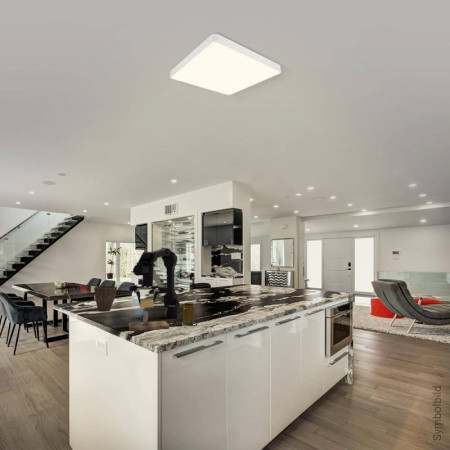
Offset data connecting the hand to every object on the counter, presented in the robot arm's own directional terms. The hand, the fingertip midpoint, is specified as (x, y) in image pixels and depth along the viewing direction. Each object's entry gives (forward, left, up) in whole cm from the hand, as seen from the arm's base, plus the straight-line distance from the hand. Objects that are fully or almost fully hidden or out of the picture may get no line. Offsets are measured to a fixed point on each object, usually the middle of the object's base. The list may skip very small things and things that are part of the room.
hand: (146, 304), depth 161 cm
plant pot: (+21, -58, -13) cm, 63 cm away
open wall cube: (0, 0, -1) cm, 1 cm away
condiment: (-25, -2, -13) cm, 28 cm away
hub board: (-2, -1, -12) cm, 13 cm away
